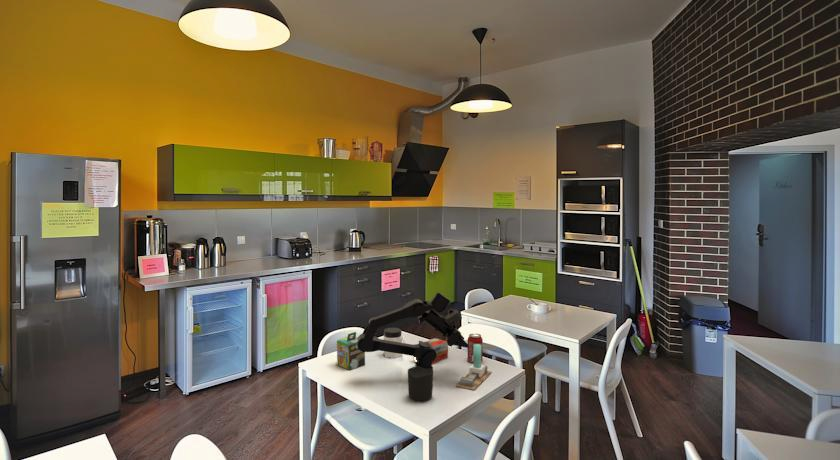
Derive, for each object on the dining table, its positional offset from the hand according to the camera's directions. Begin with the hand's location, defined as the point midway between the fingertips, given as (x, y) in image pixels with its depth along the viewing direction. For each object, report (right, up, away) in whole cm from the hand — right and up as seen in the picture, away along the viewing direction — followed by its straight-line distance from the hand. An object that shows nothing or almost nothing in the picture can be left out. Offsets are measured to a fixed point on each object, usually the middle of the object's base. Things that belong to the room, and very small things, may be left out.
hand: (465, 343), depth 184 cm
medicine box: (-14, -13, +20) cm, 28 cm away
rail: (+3, -14, -2) cm, 15 cm away
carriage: (+5, -14, +1) cm, 15 cm away
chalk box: (-49, -13, +13) cm, 53 cm away
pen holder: (-19, -15, -19) cm, 31 cm away
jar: (-32, -13, +27) cm, 43 cm away
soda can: (+6, -13, +18) cm, 23 cm away
